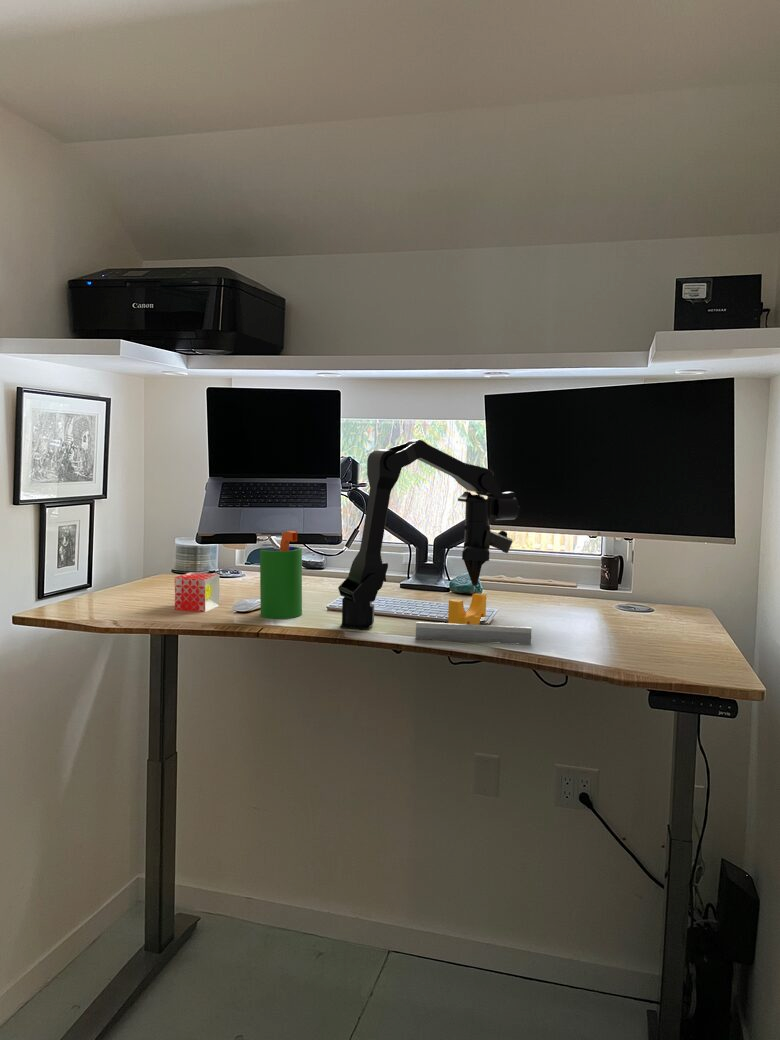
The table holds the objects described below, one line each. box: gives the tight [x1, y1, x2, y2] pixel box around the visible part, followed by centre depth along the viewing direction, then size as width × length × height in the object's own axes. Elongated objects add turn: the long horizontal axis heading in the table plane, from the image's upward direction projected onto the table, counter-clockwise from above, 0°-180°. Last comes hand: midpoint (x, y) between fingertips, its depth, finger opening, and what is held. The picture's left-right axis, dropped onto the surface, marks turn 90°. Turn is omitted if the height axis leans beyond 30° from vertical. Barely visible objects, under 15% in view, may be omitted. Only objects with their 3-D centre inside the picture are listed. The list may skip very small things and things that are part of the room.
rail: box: [415, 621, 533, 645], centre depth 167 cm, size 24×2×4 cm, turn 83°
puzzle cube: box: [174, 571, 220, 613], centre depth 193 cm, size 8×8×8 cm
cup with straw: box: [259, 530, 303, 620], centre depth 187 cm, size 10×9×20 cm
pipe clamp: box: [447, 592, 487, 625], centre depth 181 cm, size 12×4×6 cm, turn 142°
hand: (474, 585), depth 191 cm, fingers closed
